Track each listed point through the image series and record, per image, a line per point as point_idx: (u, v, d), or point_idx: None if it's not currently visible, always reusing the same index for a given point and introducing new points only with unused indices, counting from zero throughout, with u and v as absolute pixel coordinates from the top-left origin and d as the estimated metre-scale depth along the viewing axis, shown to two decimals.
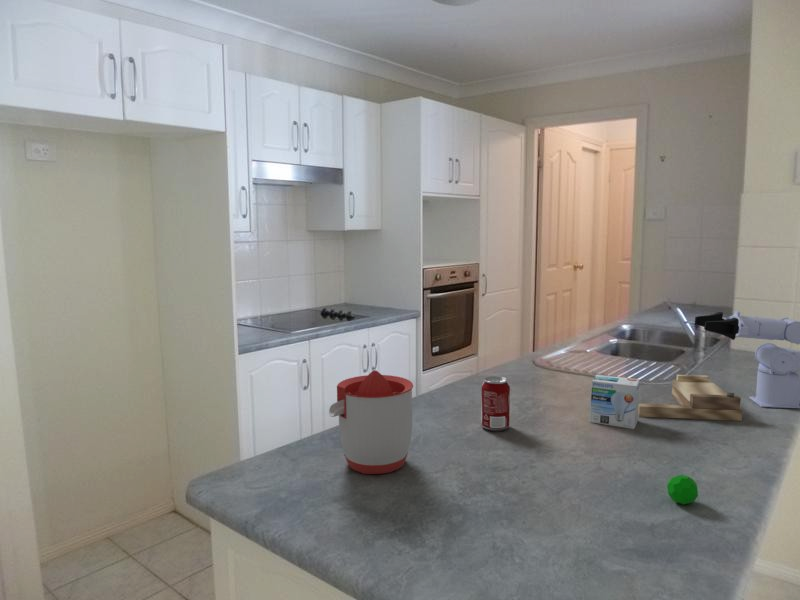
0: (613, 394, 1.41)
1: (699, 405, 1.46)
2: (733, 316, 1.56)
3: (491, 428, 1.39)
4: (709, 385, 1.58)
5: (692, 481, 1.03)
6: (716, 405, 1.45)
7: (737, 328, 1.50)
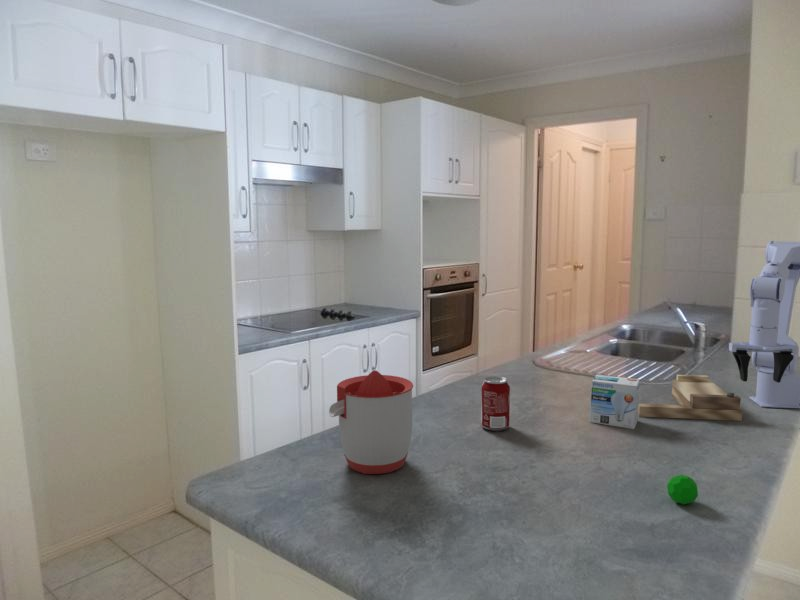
0: (613, 394, 1.41)
1: (699, 405, 1.46)
2: None
3: (491, 428, 1.39)
4: (709, 385, 1.58)
5: (692, 481, 1.03)
6: (716, 405, 1.45)
7: None
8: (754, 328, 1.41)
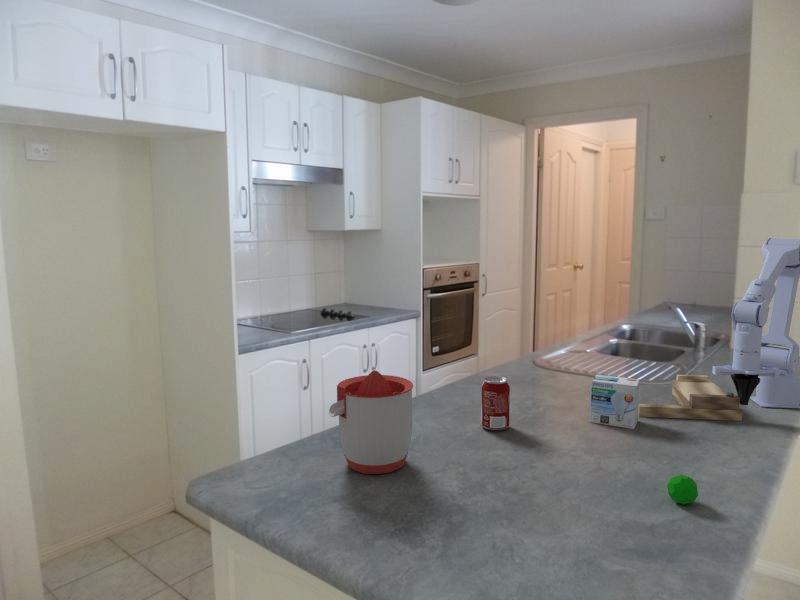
0: (613, 394, 1.41)
1: (698, 405, 1.46)
2: None
3: (491, 428, 1.39)
4: (709, 385, 1.58)
5: (692, 481, 1.03)
6: (715, 405, 1.45)
7: None
8: (737, 352, 1.42)
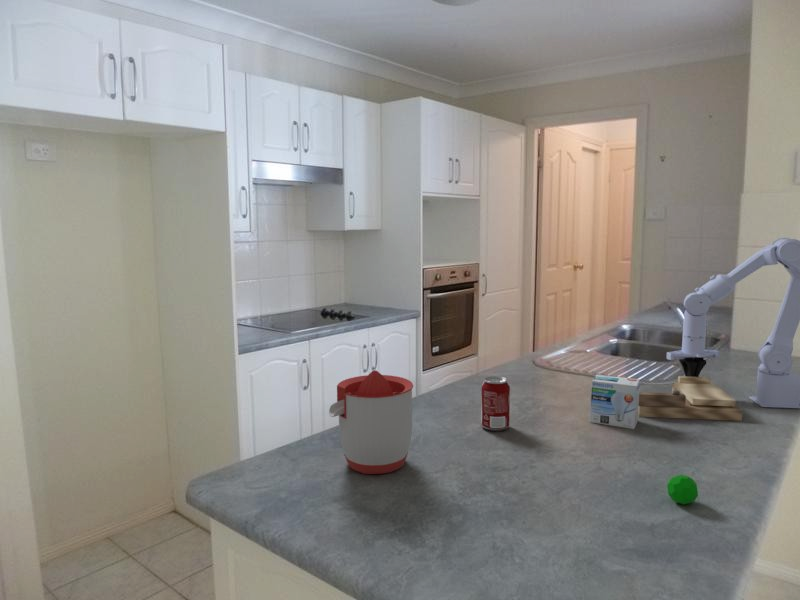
0: (613, 394, 1.41)
1: (645, 403, 1.48)
2: None
3: (491, 428, 1.39)
4: (711, 387, 1.57)
5: (692, 481, 1.03)
6: (662, 403, 1.47)
7: None
8: (687, 338, 1.61)
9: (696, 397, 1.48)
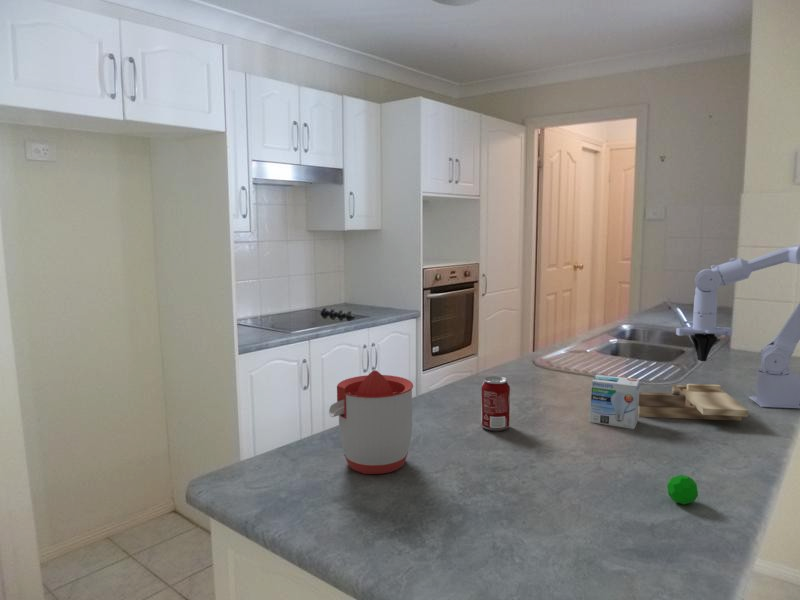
0: (613, 394, 1.41)
1: (645, 403, 1.48)
2: None
3: (491, 428, 1.39)
4: (722, 395, 1.50)
5: (692, 481, 1.03)
6: (662, 403, 1.47)
7: None
8: (697, 314, 1.61)
9: (706, 406, 1.41)
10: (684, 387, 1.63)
